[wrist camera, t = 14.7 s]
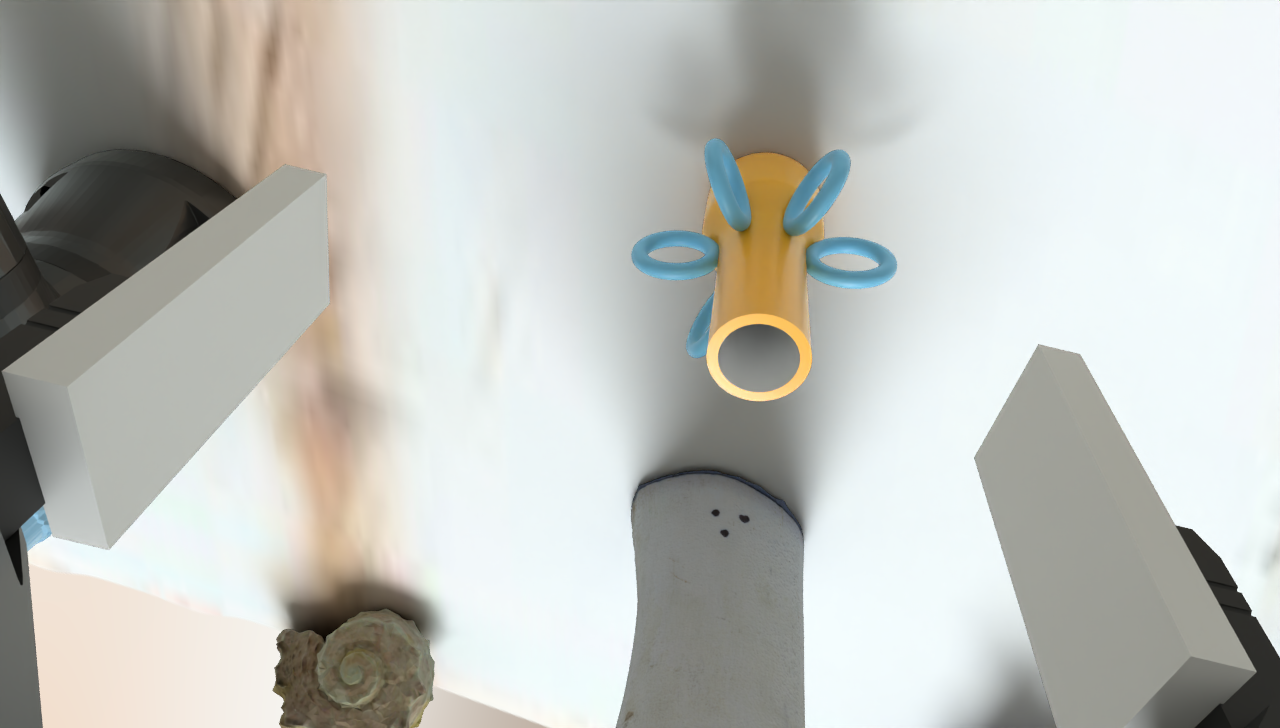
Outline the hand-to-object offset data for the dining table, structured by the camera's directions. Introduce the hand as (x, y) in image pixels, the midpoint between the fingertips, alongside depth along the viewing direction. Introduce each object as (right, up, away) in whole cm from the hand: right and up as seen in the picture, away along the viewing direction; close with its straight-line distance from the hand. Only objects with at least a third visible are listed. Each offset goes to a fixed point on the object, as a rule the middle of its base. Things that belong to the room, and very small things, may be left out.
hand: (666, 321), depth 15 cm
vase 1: (+6, +8, +29) cm, 31 cm away
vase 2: (+4, -13, +43) cm, 45 cm away
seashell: (-23, -24, +55) cm, 65 cm away
